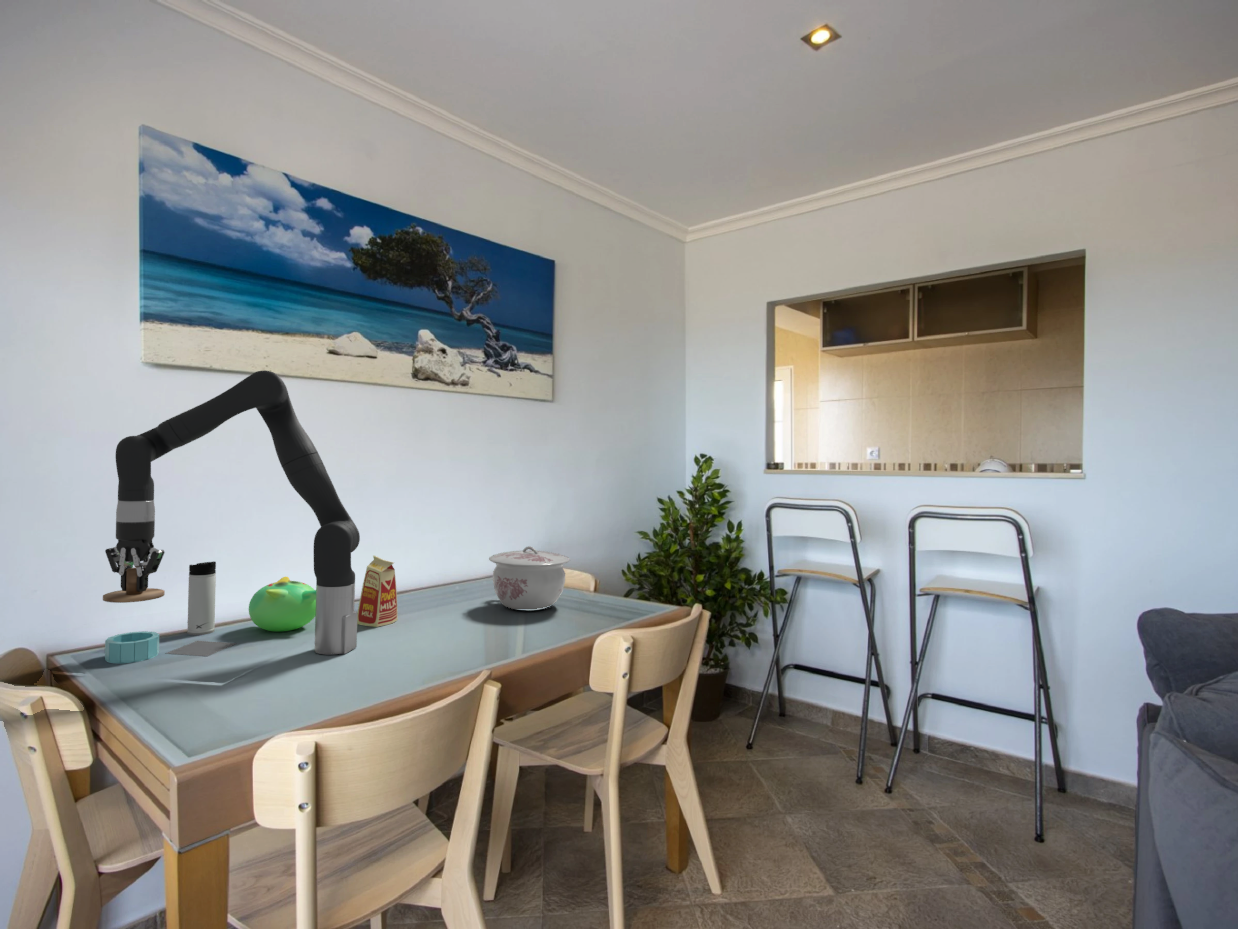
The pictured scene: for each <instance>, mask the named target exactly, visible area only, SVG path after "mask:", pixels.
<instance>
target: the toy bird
mask: <svg viewBox="0 0 1238 929" xmlns="http://www.w3.org/2000/svg"><path fill="white" fill-rule="evenodd" d="M248 614H249V617H250V620H251V622H253V624H255V625H256V626H257V627H258V628H260V629H262V630H265V631H268V632H272V633H273V632H277V633H282V632H290V631H294V630H297V629H300V628H302V627H304V626H306V625H307V624H309V623H311V622H312V621H313V620H314V619H315V615H316V589H314V587H312V586H311V585H309V584H308V583H305V582H301V581H297V580H290V578H289V577H288V576H282V577H281V578H280V579H279V580H277V581H276V582H271V583H269V584H267V585H265V586H263V587H261V588H260V589H258V590H257V591H256V592H255V593H254V594H253V595H252V597H251V599H250V601H249V604H248Z"/></svg>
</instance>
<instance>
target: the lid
mask: <svg viewBox="0 0 1238 929" xmlns="http://www.w3.org/2000/svg"><path fill="white" fill-rule="evenodd" d="M137 577H138V575H137V569H136V567H133V568H128V569H127V573H126V591H122V589H120V590H116V591H115V590H114V591H111V592H107V593H105V594H103V595H102V601H103V602H106V603H114V604H115V603H116V604H117V603H118V604H119V603H123V604H124V603H126V604H127V603H137V602H146V601H152V600H156V599H161V598H162V597H164V596H165V590H164V589H162V588H161V589H160V588H151V587H150V588H149V587H148V588H147V589H146V591H142V592H137Z"/></svg>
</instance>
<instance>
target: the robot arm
mask: <svg viewBox="0 0 1238 929" xmlns="http://www.w3.org/2000/svg"><path fill="white" fill-rule="evenodd" d="M287 388H288V387H287V386H286V384H285V382H284V380H283V379H282V377H280V376H279V375H278V374H277V373H275V372H274V371H270V370H257V371H255V372H253V373H252V374H251V373H250V375H248V376H247V377H245V378H243V379H242V380H241V381H239V382H238V383H236V384H235V385H233V386H232V387H230V388H228V389H227V390H225V391H223V392H222V393H220V394H219V395H217V396H215V397H213V398H211V399H209V400H207V401H205V402H203V403H200V404H199V405H197V406H194V407H192V408H191V409H190V408H189V409H187V410H186V411H182V412H181V413H179V414H177V415H175V416H172V417H170V418H168V419H166V420H164V421H162V422H160V423H159V424H158V425H157V426H155V427H154V428H151V429H149V430H147V431H144V432H143V433H140V434H137V435H129V436H126V437H124V438H122V439H121V440H120V441H119V442H118V444H117V445H116V448H115V465H116V472H117V477H118V485H117V504H116V511H115V513H116V514H115V539H116V540H117V543H116V545H115V546H114V547H111V548H110V547H109V548H106V549H105V551H104V552H105V554H106V558H107V560H108V562H109V566H110V568H111V571H112V572H113V573H114V574H115V573H116V574H117V573H118V574H119V576H120V588H121V590H122V591H126V573H127V569H128V568H136V569H137V575H138V577H137V592H142V591H146V589H147V588H149V575H151V574H154V573H156V572H157V571H158V569H159V568H160V567H159V566H161V565H160V564H161V562H162V560H163V557H164V555H165V553H166V552H165V550H164V549H158V548H155V546H154V542H153V540H154V538H155V531H156V530H155V527H156V526H155V524H156V523H155V522H156V520H155V518H156V517H155V516H156V509H155V508H156V507H155V481H154V478H153V477H152V462H153V461H155V460H157V459H159V458H161V457H163V456H165V455H167V454H168V453H170V452H172V451H173V450H175V449H178V448H181V447H184V446H185V445H188V444H189V443H191V442H194V441H196V440H198V439H200V438H203V437H204V436H205V435H207V434H209V433H211V432H212V431H214V430H216V429H217V428H218V427H220V426H221V425H222V424H224V423H226V422H227V421H228V420H230V419H233V417H235V416H237V415H238V416H239V414H241V413H244V412H246V411H247V412H248V411H250V410H252V409H256V410H257V412H258V413H259V416H261V418H262V420H263V421H264V423H265V424H266V426H267V428H268V431H269V432H270V433H269V434H270V435H271V438H272V439H271V440H272V442H273V446H274V449H275V452H276V456H277V457H278V461H279V463H280V465H281V468H282V470H283V472H284V474H285V476H286V478H287V480H288V482H289V484H290V485H291V487H292V488H293V489H294V490H295V491H296V493H297V494H298V495H299V496H300V497H301V499H303V501H305V503H306V504H307V505H308V506H309V507H310V508H311V510H312V512H314V515H315V517H316V518H317V521H318V524H319V525H320V527H319V529H318V530H316V533H315V534H314V539H313V573H314V576H315V580H316V586H315V588H316V589H315V590H316V615H315V617H314V619H315V621H314V623H315V624H314V652H315V653H316V654H318V655H319V654H320V655H326V656H327V655H338V654H339V655H344V654H345V655H346V654H347V653H349V652H351V651H352V650H354V649H356V648H357V647H358V646H357V644H358V643H357V642H358V640H357V639H358V638H357V637H358V624H357V612H358V610H355V600H356V599H355V596H356V595H355V594H356V593H355V592H356V573H355V572H354V571H353V569H352V552H354V551H355V550H357V548H358V547H359V544H360V541H361V538H360V531H359V529H358V527H357V525H356V523H355V522H354V520H353V519H352V517H351V516H350V514H349V513H348V511H347V509H346V508H345V506H344V504H343V502H342V501H341V499H340V497H339V495H338V493H337V491H336V488H335V486H334V483H333V482H332V478H330V476H329V473H328V470H327V469H326V466H325V465H324V462H323V460H322V458H321V455H320V453H319V451H318V450H317V448H316V446H315V444H314V443H313V441H312V439H311V438H310V437H309V435H308V433H307V432H306V431H305V429H304V427H303V426H302V425H301V423H300V421H299V419H298V416H297V415H296V412H295V409H294V407H293V404H292V401H291V398H290V395H289V391H288V389H287Z"/></svg>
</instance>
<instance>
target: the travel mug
mask: <svg viewBox="0 0 1238 929" xmlns="http://www.w3.org/2000/svg"><path fill="white" fill-rule="evenodd" d="M216 569H217V563H216V561H206V562H205V561H204V562H199V563H198V562H197V563H196V564H189V567H188V571H189V572H188V591H187V594H188V597H187V633H188V634H189V635H188V634H187V635H188V636H205V635H209V634H212V633H214V632H215V622H216V621H215V619H216V587H217V584H216V581H217V576H216V574H217V570H216Z"/></svg>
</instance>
